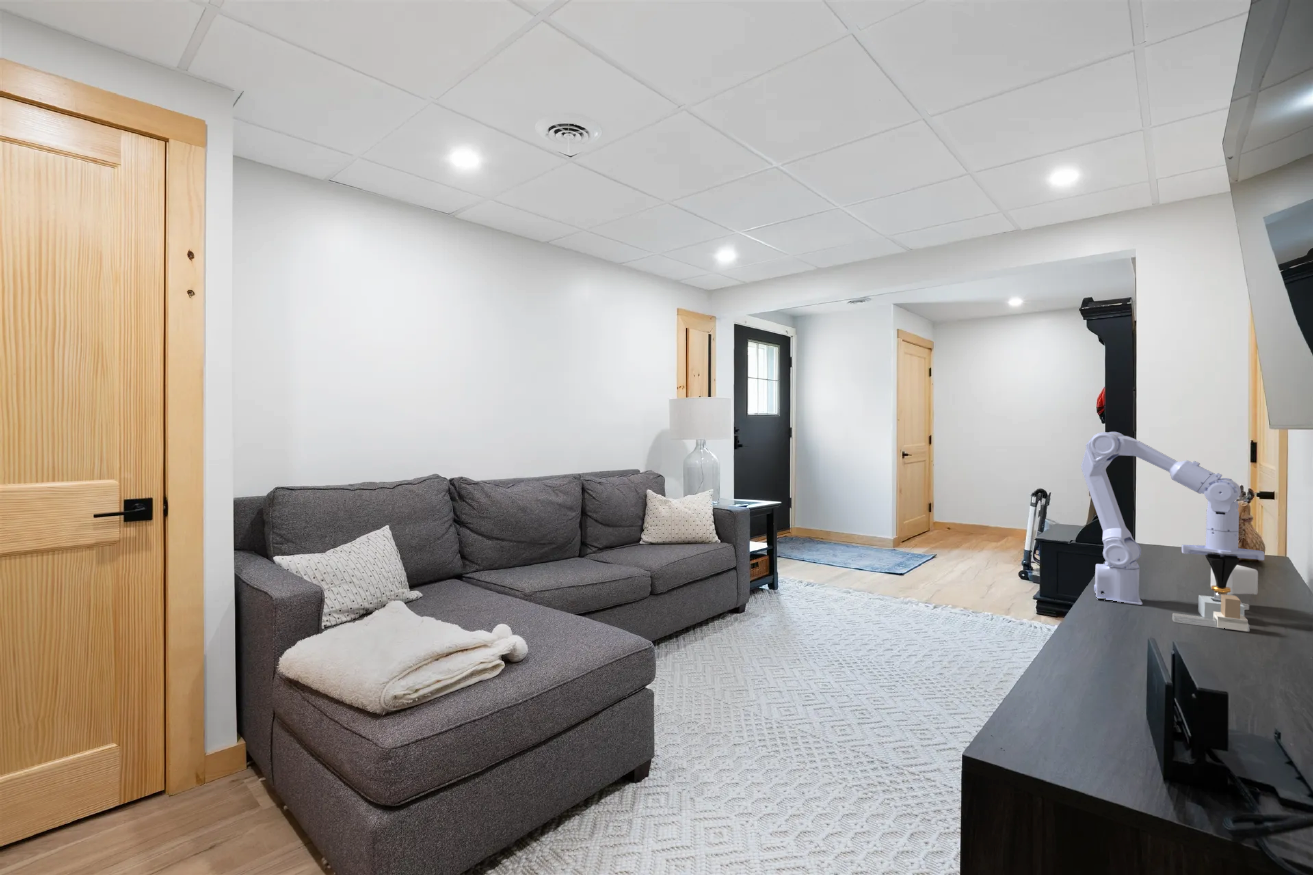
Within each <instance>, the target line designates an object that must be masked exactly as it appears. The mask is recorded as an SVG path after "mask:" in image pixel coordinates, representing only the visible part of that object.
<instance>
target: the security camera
mask: <svg viewBox="0 0 1313 875" xmlns="http://www.w3.org/2000/svg"><path fill="white" fill-rule="evenodd" d="M1258 581H1259V571H1258V570H1257V569H1255V568H1251V567H1247V566H1243V565H1239V564H1237V566H1236V567H1235V568H1234V569H1233V571H1232V573H1231V574H1230V576H1229V579H1228V581H1227V585H1226V587H1229V588H1231V592H1230V593H1228V595H1231V596H1235V595H1253V596H1256V595H1258V588H1259V584H1258V583H1259V582H1258ZM1213 585H1216V580H1215V576H1214V573H1213V571H1212V568H1211V567H1210V587H1211V586H1213ZM1240 603H1241V604H1242V605H1243V606H1244V607H1245V609H1244V611H1248V610H1250V604H1248V603H1244V602H1241V601H1240Z"/></svg>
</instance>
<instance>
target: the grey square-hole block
mask: <svg viewBox="0 0 1313 875" xmlns="http://www.w3.org/2000/svg"><path fill="white" fill-rule="evenodd" d="M1197 597H1198V599H1197V600H1198V603H1197V604H1198V605H1197V607H1198V608H1197V611H1198V613H1199V615H1200V616H1201V617H1209V618H1213V611H1214V612H1221V602H1215V601H1214V596H1210V595H1202V594H1201V595H1200V594H1198V596H1197ZM1244 609H1245V607H1244V606H1243V605H1242V604H1241V603H1240V615H1243V616H1244V617H1245V610H1244Z"/></svg>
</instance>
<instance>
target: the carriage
mask: <svg viewBox="0 0 1313 875" xmlns="http://www.w3.org/2000/svg"><path fill="white" fill-rule="evenodd" d="M1240 602H1241V599H1240V598H1239V597H1238V596H1237V595H1234V596H1231V595H1222V594H1221V612H1214V611H1213V618H1216V619H1217V627H1218V629H1224V628H1225V629H1226V630H1231V629H1233V631H1239V630H1241V631H1240V632H1247V631H1248V624H1249V620H1248V619H1247V618H1246V616H1245V615H1244V616H1243V615H1240ZM1225 629H1224V630H1225Z"/></svg>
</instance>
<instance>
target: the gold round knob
mask: <svg viewBox="0 0 1313 875" xmlns="http://www.w3.org/2000/svg"><path fill="white" fill-rule="evenodd" d="M1210 588H1211V590H1212V591H1213V597H1214V601H1215V602H1221V594H1222V595H1228V593H1230V592H1231V588H1229V587H1226V588H1222V587H1217V586H1216V585H1213V586H1211V585H1210Z"/></svg>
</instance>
